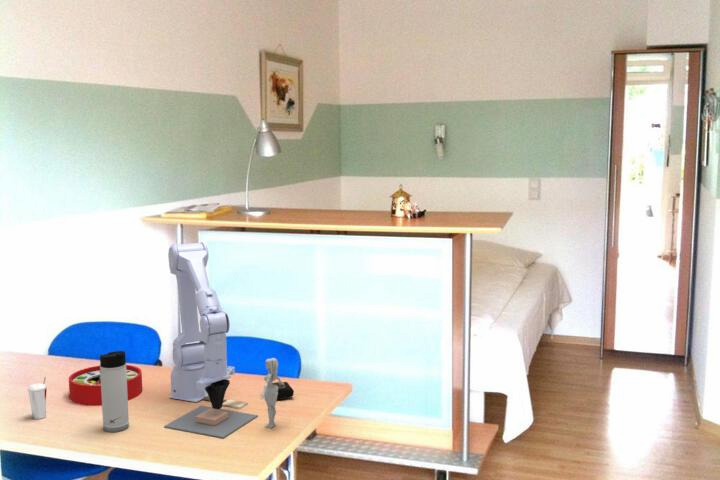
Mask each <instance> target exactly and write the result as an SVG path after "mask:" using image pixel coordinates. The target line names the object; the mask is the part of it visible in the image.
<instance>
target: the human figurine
mask: <svg viewBox="0 0 720 480" xmlns="http://www.w3.org/2000/svg"><path fill="white" fill-rule="evenodd" d="M264 363H265V369H266V370H268V371H267V372H268V373H267V374H266V375H265V376H263V381H265V385H264V386H263V390H262V393H260V394H259V396H261V397H260V400H264V401H265V403H266V407H267V416H268V423H267V424H266V425H265V426H264V428H270V429H272V428H273V427H274V426H276V422H275V419H276V418H275V416H276V414H277V410H276V405H277V401H278V399H277V395H278V387H277V386H276V385H273V384H272V383H274V382H275V381H276V380H277V382H279V383H280V384H282V385H284V383H283V382H284V381H282V380H281V378H280V376H278V372H279V371H278V370H279V369H278V368H279V361H278V359H277V358H275V357H271V358H267V359H266V360H265V361H264Z"/></svg>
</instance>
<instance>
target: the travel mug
mask: <svg viewBox="0 0 720 480" xmlns="http://www.w3.org/2000/svg"><path fill="white" fill-rule="evenodd" d="M126 361H127V360H126V351H123V350H118V351H117V350H116V351H115V350H114V351H111V352H108V353H105V354H100V355H99V362H100V364H99V366H100V374H101V394H102V405H101V408H102V409H101V411H102V412H101V413H102V429H103V431H105V432H107V433H116V432H122V431H125V430H126V429H128V428H129V426H130V423H129V422H130V421H129V400H128V395H127V373H126V365H127V363H126Z"/></svg>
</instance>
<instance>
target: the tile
mask: <svg viewBox="0 0 720 480" xmlns="http://www.w3.org/2000/svg"><path fill="white" fill-rule="evenodd" d="M195 418H196V422H197V423H203V424H208V425H214V426H215V425H217V424H219V423H220V422H222V421H224V420H225V419H227V418H228V412H224V411H218V410H212V409H208V410H206V411H205V412H203V413H201V414H199V415H197V416H196V417H195Z"/></svg>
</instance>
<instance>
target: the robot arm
mask: <svg viewBox="0 0 720 480" xmlns="http://www.w3.org/2000/svg"><path fill="white" fill-rule="evenodd" d="M167 255H168V267H169V270H170V271H169V272H170V274H171V275H175V277H176V282H177V292H178V293H177V294H178V303H179V312H180V313H179V314H180V316H179V317H180V324H181V333H180V334H179V335H178V336H176V338H174V340H173V343H172V360H173V363H174V365H175V366H173V367H172V370H171V372H170V392H171V393H170V394H171V395H169V399H176V400H181V401H187V402H192V403H198V402H200V401H202V400H204V399H203V398H204V396H205V397H209V398H210V401H209V402H210V404H211V407H212V408H213V409H222V407H223V406H222V404H223V400H225V394H226V392H227V390H228V387H229V385H230V380H229V379H231V377H232V376H234V375H235V372H236V370H235V366H231V365H228V355H227V354H228V353H227V334H228V333H229V332H230V324H231V323H230V318H229V315H228V313H227V311H226V310H225V308H223V307H222V306H221V303H220V301H219V297H218V295H217V292H216V290H215V289H214V288H210V287H211V286H210V282H209V279H208V278H209V277H208V274H207V273H208V272H207V271H206V267H207V264H208V261H209V250H208V246H207V244H206V243H205V242H203V241H202V242H198V243H197V242H196V243H195V242H194V243H193V242H192V243H183V244H181V243H180V244H174V243H173V244H171V245H170V246H169V249H168V253H167ZM198 313H199V314H198ZM199 316H200V320H199ZM231 375H232V376H231Z"/></svg>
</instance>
